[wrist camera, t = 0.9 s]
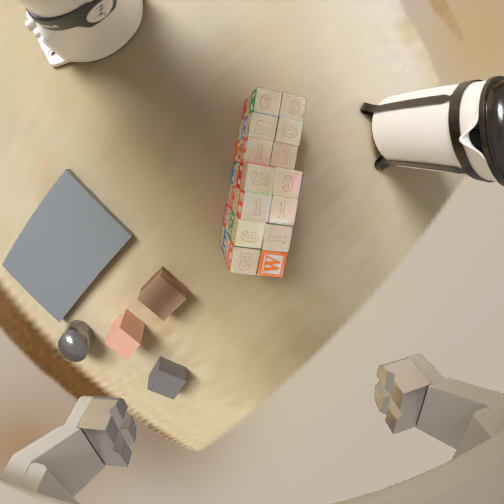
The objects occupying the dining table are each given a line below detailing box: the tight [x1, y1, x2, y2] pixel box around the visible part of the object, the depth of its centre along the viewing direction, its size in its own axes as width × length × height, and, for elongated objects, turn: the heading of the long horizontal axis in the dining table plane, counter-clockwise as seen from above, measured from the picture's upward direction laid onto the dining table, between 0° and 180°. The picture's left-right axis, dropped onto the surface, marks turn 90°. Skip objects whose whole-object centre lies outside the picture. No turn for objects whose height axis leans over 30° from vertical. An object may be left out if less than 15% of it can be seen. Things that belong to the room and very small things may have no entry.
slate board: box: [2, 169, 133, 322], centre depth 40 cm, size 14×20×2 cm
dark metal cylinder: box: [58, 320, 93, 362], centre depth 43 cm, size 5×5×5 cm
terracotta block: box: [105, 309, 145, 359], centre depth 43 cm, size 4×4×6 cm
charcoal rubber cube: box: [148, 357, 186, 399], centre depth 48 cm, size 5×5×4 cm
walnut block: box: [138, 267, 187, 321], centre depth 44 cm, size 5×5×4 cm
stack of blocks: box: [220, 87, 306, 277], centre depth 38 cm, size 21×6×12 cm, turn 169°
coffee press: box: [360, 76, 504, 186], centre depth 31 cm, size 17×16×30 cm
